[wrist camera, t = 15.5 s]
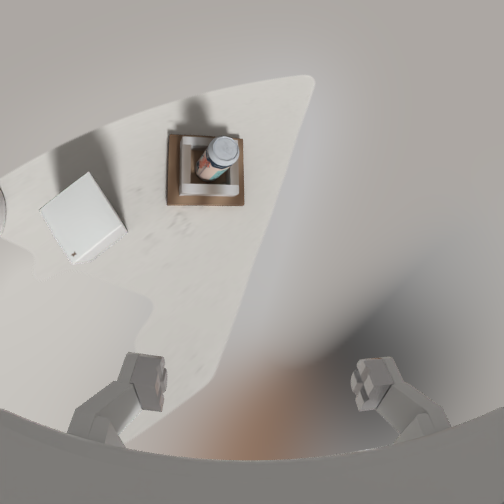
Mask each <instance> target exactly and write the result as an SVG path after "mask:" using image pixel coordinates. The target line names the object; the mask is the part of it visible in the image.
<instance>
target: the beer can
mask: <svg viewBox="0 0 504 504" xmlns="http://www.w3.org/2000/svg"><path fill="white" fill-rule="evenodd" d="M238 157H239V147H238V144H237V143H236V142H235V141H234V140H233V138H230V137H227V136H219V137H216V138H214V139H213V140H212V141H211V142H210V144H209V146H208V147H207V149H206V150H205V152H204V153H203V155H202V156H201V158H200V159H199V160H198V161H197V163H196V165H195V172H196V174H197V176H198V177H199V178H200V179H201V180H203V181H207V182H210V181H214V180H216V179H217V178H218V177H219V176H220V175H221V174H223V173H224V172H225V171H226V170H227V169H228V168H229V167H230V166H231V165H233V164H234V163H235V162H236V161H237V159H238Z"/></svg>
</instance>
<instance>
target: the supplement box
mask: <svg viewBox="0 0 504 504" xmlns="http://www.w3.org/2000/svg"><path fill="white" fill-rule="evenodd" d="M39 212H40V214H41V215H42V217H43V219H44V221H45V222H46V224H47V226H48V228H49V229H50V231H51V233H52V235H53V237H54V238H55V240H56V241H57V243H58V244H59V246H60V247H61V249H62V250H63V252H64V254H65V255H66V257H67V258H68V260H69V261H70V263H71V264H79V263H87V262H92V261H93V260H94V259H95V258H97V257H98V256H99V255H100V254H102V253H103V252H104V251H106V250H107V249H108V248H109V247H111V246H112V245H113V244H115V243H116V242H117V241H119V240H120V239H121V238H122V237H124V236H125V235H126V234H127V233H128V231H127V230H126V228H125V226H124V224H123V223H122V221H121V219H120V217H119V216H118V214H117V213H116V211H115V209H114V208H113V206H112V205H111V203H110V202H109V200H108V199H107V197H106V196H105V194H104V193H103V191H102V190H101V188H100V187H99V185H98V184H97V182H96V181H95V179H94V178H93V176H92V175H91V173H90V172H87V173H86V174H85V175H83V176H82V177H80V178H79V179H78V180H76V181H75V182H74V183H73V184H71V185H70V186H69V187H67V188H66V189H65V190H63V191H62V192H61V193H60V194H58V195H57V196H56V197H54V198H53V199H52V200H50V201H49V202H48V203H47V204H45V205H44V206H43V207H42V208H40V209H39Z"/></svg>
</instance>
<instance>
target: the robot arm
mask: <svg viewBox="0 0 504 504" xmlns="http://www.w3.org/2000/svg"><path fill="white" fill-rule="evenodd" d="M5 217H6V206H5V200H4V197H3V194H2V192H1V190H0V236H1V234H2V231H3V228H4V224H5ZM164 365H165V360H164V357H161V356H154V355H146V354H139V353H132V352H128V353H127V355H126V357H125V360H124V363H123V365H122V368H121V371H120V374H119V377H118V380H117V381H113V382H112V383H111V384H109V385H108V386H106V387H105V388H104V389H102V390H101V391H100V392H98V393H97V394H96V395H94V396H93V397H91V398H90V399H89V400H87V401H86V402H85V403H83V404H82V405H81V406H79V407H78V408H77V409H76V410H75V412H74V415H73V417H72V420H71V423H70V426H69V428H68V431H67V433H64V432H61V431H58V430H55V429H52V428H50V427H47V426H44V425H41V424H39V423H36V422H33V421H31V420H28V419H26V418H23V417H21V416H18V415H16V414H14V413H11V412H9V411H7V410H4V409H0V504H504V407H501V408H498V409H496V410H493V411H491V412H489V413H487V414H485V415H482V416H480V417H477V418H475V419H472V420H470V421H467V422H464V423H462V424H459V425H456V426H454V427H451V425H450V423H449V421H448V418H447V416H446V414H445V412H444V410H443V408H442V407H441V406H440V405H438V404H437V403H435V402H434V401H432V400H431V399H430V398H428V397H427V396H425V395H424V394H423V393H421V392H420V391H418V390H417V389H416V388H414V387H413V386H411V385H410V384H409V383H404V381H403V379H402V377H401V375H400V372H399V370H398V368H397V366H396V364H395V362H394V360H393V358H392V357H382V358H371V359H360V360H359V361H358V363H357V368H358V369H357V370H355V371H354V372H353V374H352V377H351V387H352V390H353V392H354V393H355V394H356V395H357V397H356V399H355V400H356V403H357V406H358V409H359V411H366V410H374V409H376V411H377V412H378V413H379V414H380V415H381V416H382V417H384V419H385V420H386V421H387V422H388V423H389V424H390V425H391V426H392V427H393V428H394V429H395V430H396V431H397V432H398V433H400V436H399V437H398V438H397V439H396V440H395V442H394V443H393V444H392V445H387V446H383V447H378V448H374V449H368V450H363V451H357V452H352V453H345V454H339V455H330V456H322V457H314V458H302V459H287V460H261V461H239V460H212V459H198V458H187V457H177V456H169V455H162V454H154V453H149V452H142V451H137V450H132V449H127V448H126V447H125V446H124V444H123V442H122V441H121V439H120V437H119V436H118V435H119V434H120V433H121V432H122V431H123V430H124V429H125V428H126V427H127V426H128V425H129V424H130V423H131V422H132V421H133V420H134V419H135V418H136V417H137V416H138V414H139V413H140V412H141V411H142V410H150V411H159V412H162V408H163V403H164V396H163V393H164V392H165V391H166V387H167V370H166V369H165V368H164Z"/></svg>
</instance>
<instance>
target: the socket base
mask: <svg viewBox="0 0 504 504" xmlns="http://www.w3.org/2000/svg"><path fill="white" fill-rule="evenodd" d="M214 138H216V137H212V136H196V135H174V134H170V136H169V149H168V180H167V205H206V206H243V205H244V168H243V139H237V138H233V140H234V141H235V142H236V143H237V144H238V147H239V157H238V159H237V161H236V162H235V163H234V164H233V165H231V166H230V167H229V168H228V169H227V170H226V171H225V172H224V173H223V174H221V175H220V176H219V177H218V178H217V179H216V180H214V181H210V182H207V181H203V180H201V179H200V178H199V177H198V176H197V174H196V172H195V165H196V163H197V161H198V160H199V159H200V158H201V156H202V155H203V153H204V152H205V150H206V149H207V147H208V146H209V144H210V142H211V141H212V140H213V139H214Z"/></svg>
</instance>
